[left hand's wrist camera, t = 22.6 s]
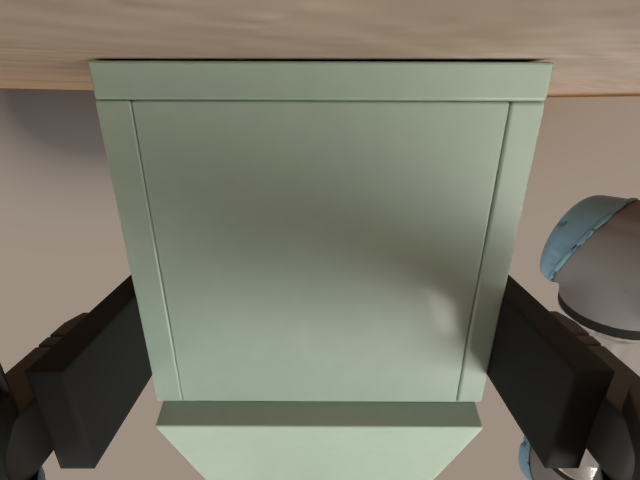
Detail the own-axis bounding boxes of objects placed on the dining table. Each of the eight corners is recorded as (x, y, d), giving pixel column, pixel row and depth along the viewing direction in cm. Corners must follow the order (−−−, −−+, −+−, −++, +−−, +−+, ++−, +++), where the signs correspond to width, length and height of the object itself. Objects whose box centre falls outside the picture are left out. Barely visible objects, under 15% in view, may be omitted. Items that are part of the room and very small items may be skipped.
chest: (410, 89, 20) (396, 245, 23) (231, 88, 20) (243, 245, 23) (555, 61, 8) (482, 402, 11) (85, 60, 8) (156, 401, 11)
